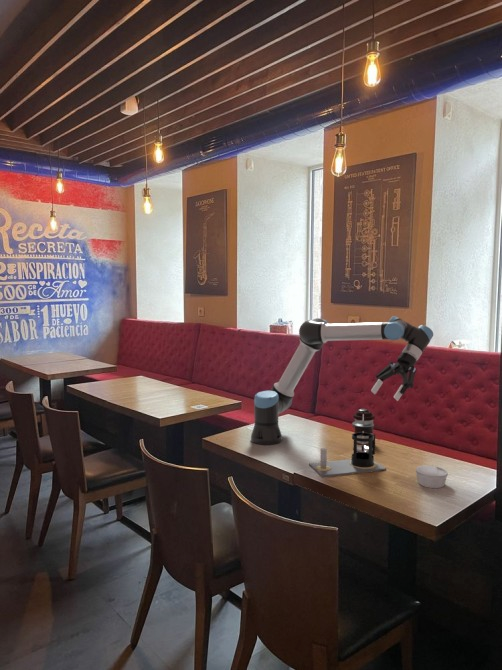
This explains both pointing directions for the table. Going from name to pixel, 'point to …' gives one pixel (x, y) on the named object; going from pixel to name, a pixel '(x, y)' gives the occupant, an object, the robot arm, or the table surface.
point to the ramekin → (431, 476)
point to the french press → (362, 453)
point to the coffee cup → (367, 417)
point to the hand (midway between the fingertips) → (383, 395)
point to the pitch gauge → (340, 466)
